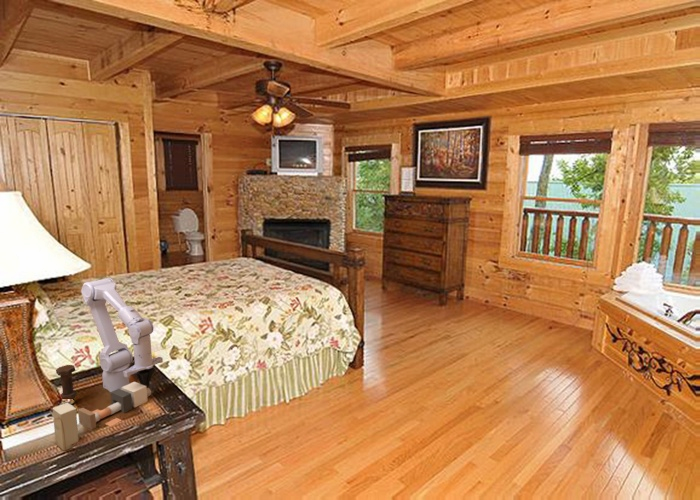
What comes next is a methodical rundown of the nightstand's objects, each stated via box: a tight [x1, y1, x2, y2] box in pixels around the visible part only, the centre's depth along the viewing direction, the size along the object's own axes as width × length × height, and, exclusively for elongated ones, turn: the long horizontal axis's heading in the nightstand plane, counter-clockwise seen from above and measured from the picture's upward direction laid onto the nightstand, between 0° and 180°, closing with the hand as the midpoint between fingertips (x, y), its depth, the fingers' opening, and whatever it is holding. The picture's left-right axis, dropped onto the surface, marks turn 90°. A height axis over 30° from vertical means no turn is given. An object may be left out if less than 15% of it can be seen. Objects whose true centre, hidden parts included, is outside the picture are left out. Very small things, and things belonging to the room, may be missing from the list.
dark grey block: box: [109, 389, 133, 414], centre depth 145 cm, size 7×3×6 cm, turn 62°
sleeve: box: [121, 381, 148, 409], centre depth 149 cm, size 7×5×6 cm
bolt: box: [55, 364, 78, 401], centre depth 147 cm, size 6×5×15 cm
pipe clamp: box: [77, 387, 152, 431], centre depth 144 cm, size 16×26×6 cm, turn 152°
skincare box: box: [52, 402, 80, 452], centre depth 126 cm, size 6×4×12 cm
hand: (145, 387), depth 153 cm, fingers closed
